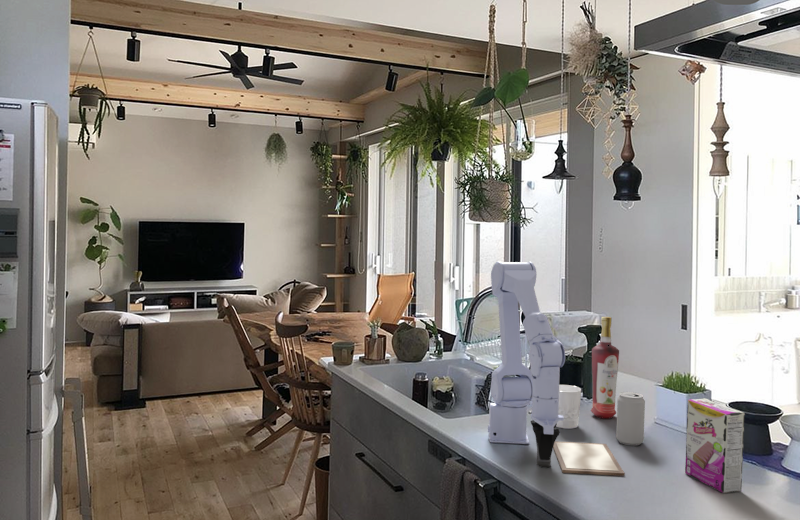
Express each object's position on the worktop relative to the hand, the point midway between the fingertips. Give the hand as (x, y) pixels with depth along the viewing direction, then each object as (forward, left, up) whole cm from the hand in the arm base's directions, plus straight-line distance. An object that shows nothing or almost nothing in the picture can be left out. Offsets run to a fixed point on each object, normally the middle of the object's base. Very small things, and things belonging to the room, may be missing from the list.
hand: (543, 456), depth 144 cm
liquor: (+21, +41, -2) cm, 46 cm away
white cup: (+9, +31, -2) cm, 32 cm away
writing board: (+10, +6, -2) cm, 12 cm away
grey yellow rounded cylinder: (0, 0, -2) cm, 2 cm away
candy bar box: (+34, -5, -2) cm, 34 cm away
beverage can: (+23, +19, -2) cm, 30 cm away
